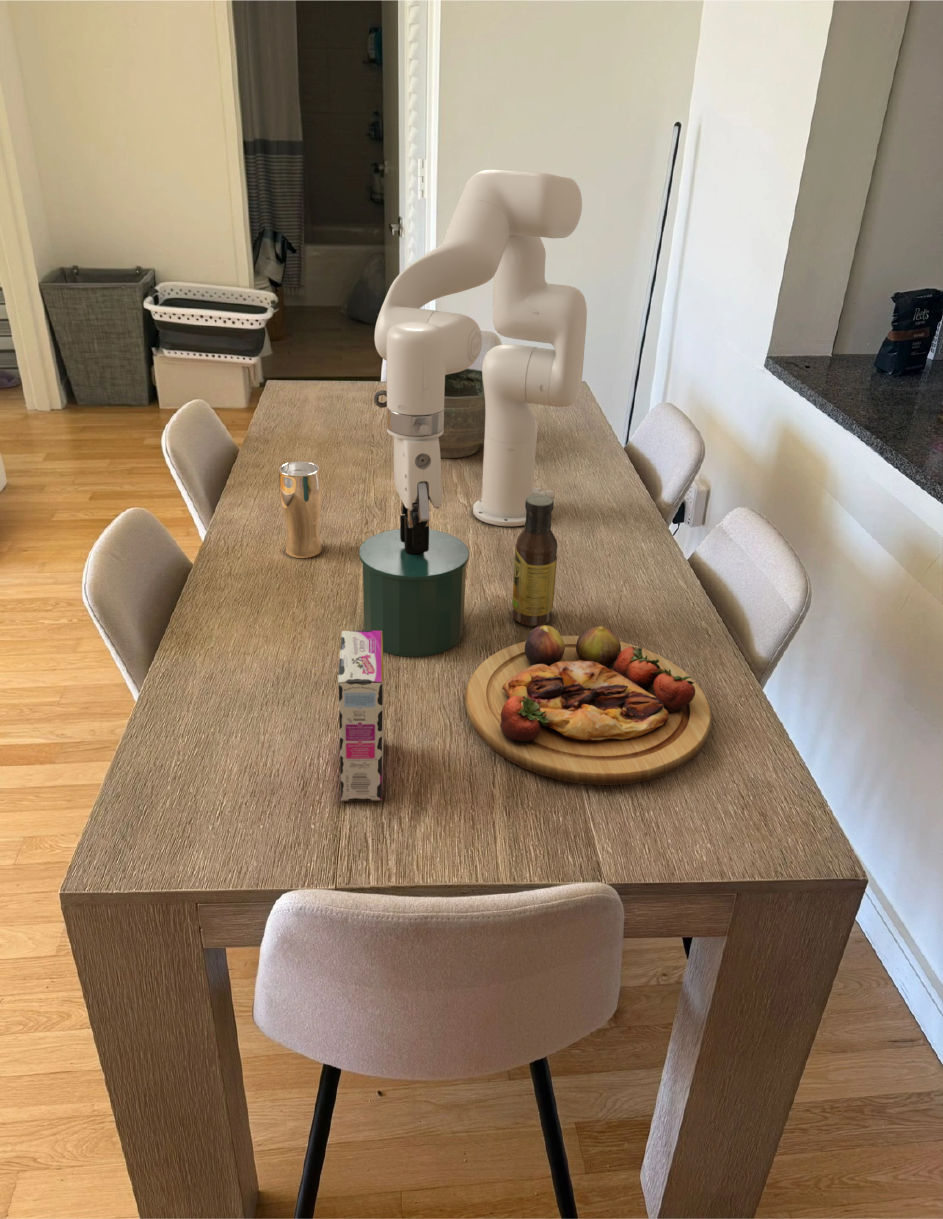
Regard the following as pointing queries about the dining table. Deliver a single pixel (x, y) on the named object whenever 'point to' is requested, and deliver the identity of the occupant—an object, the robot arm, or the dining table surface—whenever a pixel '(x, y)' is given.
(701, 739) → the wooden plate
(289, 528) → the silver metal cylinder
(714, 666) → the dining table surface
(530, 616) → the sauce bottle
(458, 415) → the bowl
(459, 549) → the tin lid
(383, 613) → the tin
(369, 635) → the candy bar box
